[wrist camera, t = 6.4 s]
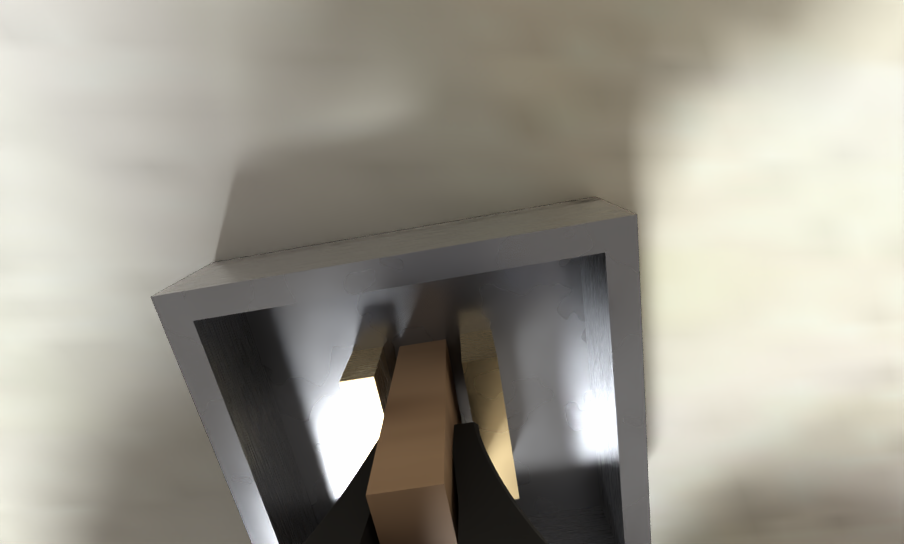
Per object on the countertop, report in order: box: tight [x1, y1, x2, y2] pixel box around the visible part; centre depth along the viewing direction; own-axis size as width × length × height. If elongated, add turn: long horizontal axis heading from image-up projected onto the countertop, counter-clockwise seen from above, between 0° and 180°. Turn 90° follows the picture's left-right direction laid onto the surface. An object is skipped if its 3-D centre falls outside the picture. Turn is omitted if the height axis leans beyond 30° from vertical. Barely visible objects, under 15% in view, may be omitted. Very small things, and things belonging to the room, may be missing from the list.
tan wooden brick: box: [366, 339, 462, 544], centre depth 12 cm, size 5×2×6 cm, turn 10°
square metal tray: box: [151, 197, 651, 544], centre depth 14 cm, size 12×12×3 cm
